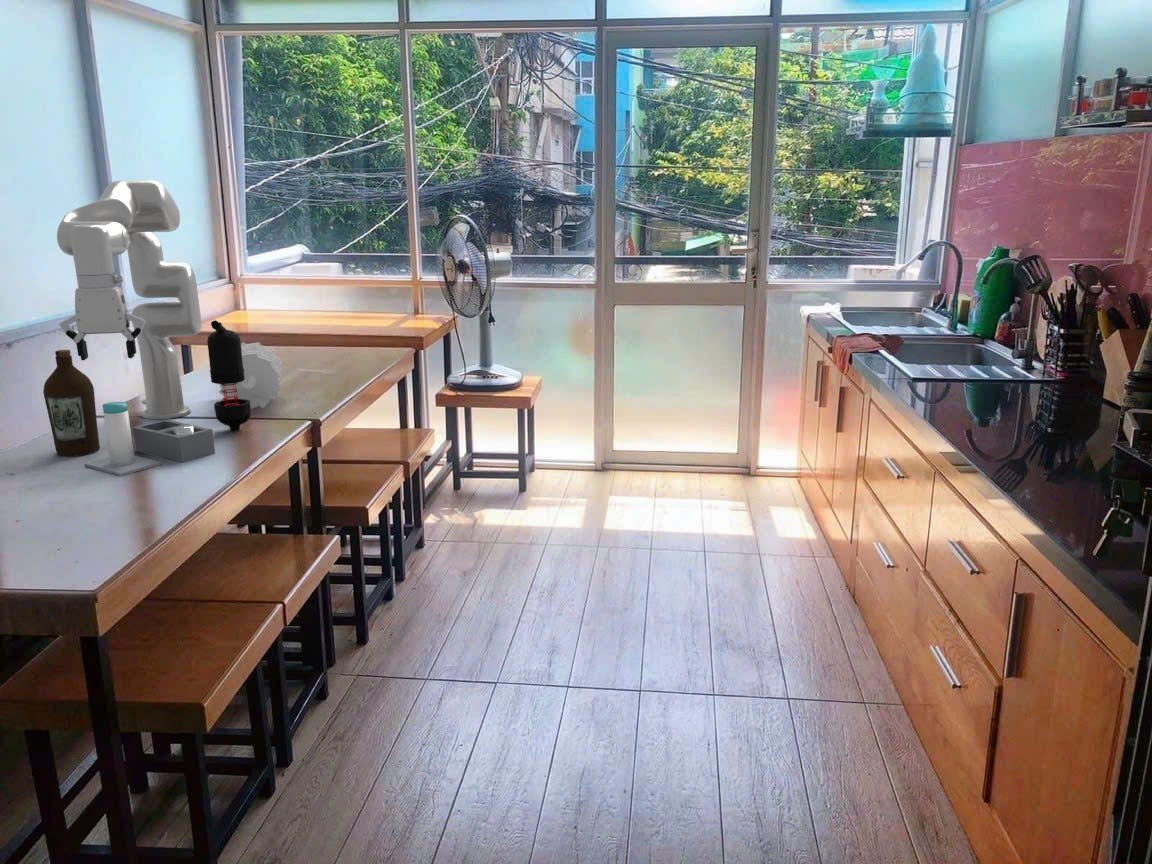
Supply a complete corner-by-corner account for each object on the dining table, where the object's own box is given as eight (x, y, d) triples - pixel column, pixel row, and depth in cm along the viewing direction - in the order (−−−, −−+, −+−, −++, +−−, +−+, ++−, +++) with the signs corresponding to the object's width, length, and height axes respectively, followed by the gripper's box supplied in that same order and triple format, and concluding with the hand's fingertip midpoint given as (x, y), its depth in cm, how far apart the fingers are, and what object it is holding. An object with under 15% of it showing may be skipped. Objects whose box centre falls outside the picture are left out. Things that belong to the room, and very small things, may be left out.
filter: (244, 435, 233) (232, 320, 225) (209, 435, 233) (196, 321, 225) (262, 422, 246) (251, 313, 238) (229, 422, 246) (217, 313, 238)
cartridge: (113, 460, 210) (105, 402, 207) (136, 458, 212) (129, 401, 208) (108, 466, 206) (99, 407, 202) (131, 465, 207) (124, 406, 203)
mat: (84, 466, 208) (84, 463, 208) (125, 455, 216) (124, 453, 216) (121, 475, 201) (120, 473, 201) (161, 464, 209) (160, 461, 209)
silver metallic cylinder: (172, 447, 215) (169, 427, 214) (188, 443, 219) (185, 423, 218) (183, 450, 213) (181, 430, 212) (199, 446, 217) (197, 426, 216)
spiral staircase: (270, 406, 281) (268, 421, 258) (213, 385, 275) (205, 399, 251) (292, 352, 279) (291, 363, 256) (235, 330, 273) (229, 339, 250)
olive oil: (61, 446, 224) (45, 347, 217) (107, 444, 226) (93, 346, 219) (47, 459, 214) (30, 355, 207) (95, 456, 216) (80, 353, 209)
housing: (136, 451, 220) (132, 427, 218) (168, 442, 227) (165, 419, 226) (182, 462, 211) (179, 438, 209) (215, 453, 218) (212, 429, 217)
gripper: (142, 278, 203) (152, 353, 208) (58, 281, 199) (71, 356, 204) (135, 283, 196) (146, 359, 201) (48, 285, 192) (61, 363, 197)
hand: (108, 358), depth 202 cm, fingers open, 9 cm apart
